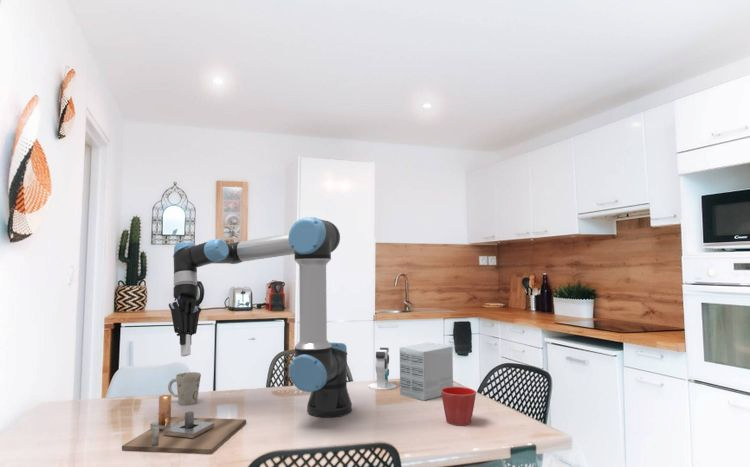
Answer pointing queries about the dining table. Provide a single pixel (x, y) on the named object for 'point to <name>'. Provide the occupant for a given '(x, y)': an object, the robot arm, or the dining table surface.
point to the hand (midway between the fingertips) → (185, 355)
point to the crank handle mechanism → (177, 428)
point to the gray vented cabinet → (425, 370)
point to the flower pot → (458, 404)
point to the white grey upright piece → (382, 371)
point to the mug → (186, 387)
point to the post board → (175, 444)
